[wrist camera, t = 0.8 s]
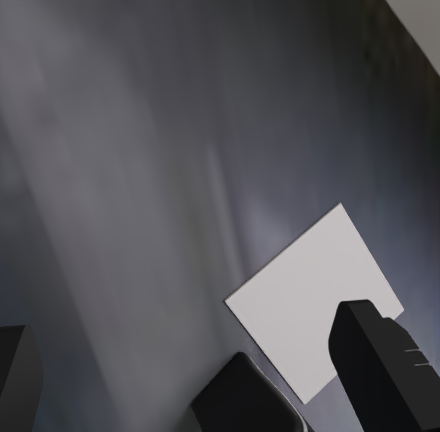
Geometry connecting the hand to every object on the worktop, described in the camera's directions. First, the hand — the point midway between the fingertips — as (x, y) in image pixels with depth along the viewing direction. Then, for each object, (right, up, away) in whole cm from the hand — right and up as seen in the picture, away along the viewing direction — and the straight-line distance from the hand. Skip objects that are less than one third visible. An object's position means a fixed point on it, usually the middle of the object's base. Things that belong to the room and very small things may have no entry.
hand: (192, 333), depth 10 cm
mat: (+10, -5, +27) cm, 30 cm away
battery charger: (+1, -12, +25) cm, 28 cm away
